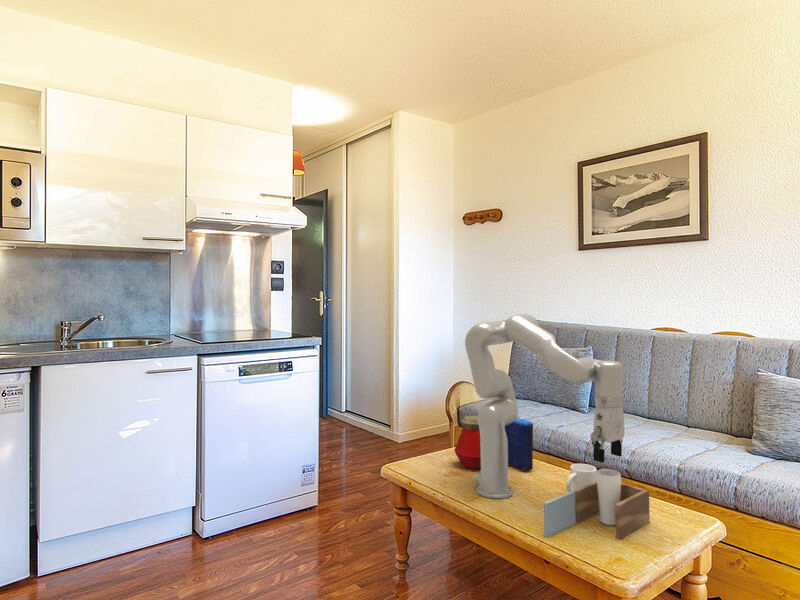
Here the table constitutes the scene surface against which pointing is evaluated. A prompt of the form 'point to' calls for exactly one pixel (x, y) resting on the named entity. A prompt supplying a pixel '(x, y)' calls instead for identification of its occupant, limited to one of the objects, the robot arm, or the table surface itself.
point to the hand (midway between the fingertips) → (607, 458)
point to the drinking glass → (608, 494)
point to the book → (520, 444)
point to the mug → (581, 476)
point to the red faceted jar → (469, 444)
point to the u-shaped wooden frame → (627, 512)
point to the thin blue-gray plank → (559, 513)
